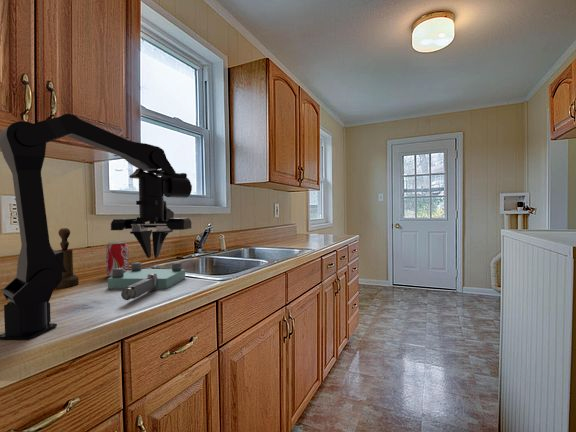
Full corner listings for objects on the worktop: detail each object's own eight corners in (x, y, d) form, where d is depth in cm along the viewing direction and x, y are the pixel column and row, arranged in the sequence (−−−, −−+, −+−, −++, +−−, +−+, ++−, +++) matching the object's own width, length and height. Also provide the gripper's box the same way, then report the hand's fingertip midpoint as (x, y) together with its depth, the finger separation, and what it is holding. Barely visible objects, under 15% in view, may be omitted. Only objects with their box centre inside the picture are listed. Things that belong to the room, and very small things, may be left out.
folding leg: (149, 288, 89) (149, 273, 89) (159, 288, 89) (158, 273, 89) (121, 302, 76) (120, 285, 75) (132, 303, 75) (131, 285, 75)
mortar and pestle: (47, 287, 93) (45, 228, 93) (65, 282, 100) (63, 227, 99) (66, 288, 92) (64, 228, 92) (83, 283, 99) (82, 227, 98)
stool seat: (166, 288, 90) (166, 270, 90) (107, 288, 91) (107, 270, 91) (185, 277, 104) (184, 261, 104) (134, 277, 105) (133, 262, 105)
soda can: (119, 278, 105) (118, 243, 105) (101, 277, 107) (100, 243, 106) (133, 273, 112) (132, 241, 112) (116, 273, 114) (116, 241, 113)
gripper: (198, 197, 86) (199, 253, 86) (133, 198, 87) (135, 253, 87) (182, 195, 75) (183, 259, 75) (108, 197, 76) (110, 259, 76)
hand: (152, 257), depth 79 cm, fingers closed
